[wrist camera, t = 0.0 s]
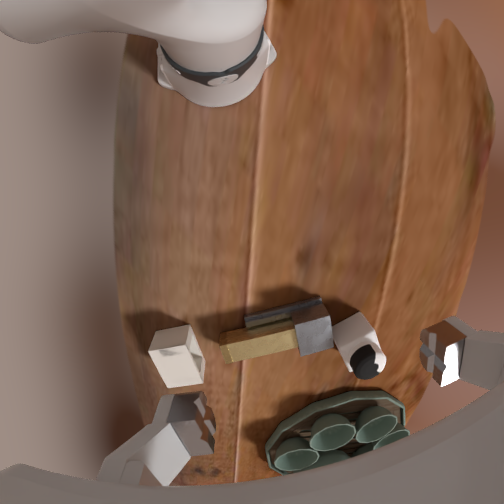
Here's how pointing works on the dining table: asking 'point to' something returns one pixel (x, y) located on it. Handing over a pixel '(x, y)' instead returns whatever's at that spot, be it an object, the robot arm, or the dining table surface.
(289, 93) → the dining table surface
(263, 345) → the olive rectangular bar
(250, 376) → the dining table surface
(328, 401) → the tea set
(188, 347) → the socket
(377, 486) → the robot arm
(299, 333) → the sleeve
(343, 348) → the medicine bottle
